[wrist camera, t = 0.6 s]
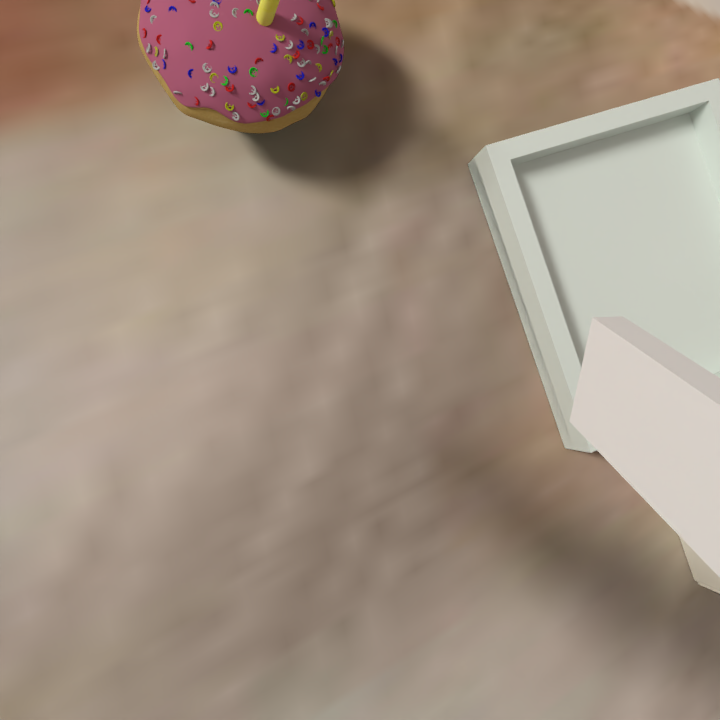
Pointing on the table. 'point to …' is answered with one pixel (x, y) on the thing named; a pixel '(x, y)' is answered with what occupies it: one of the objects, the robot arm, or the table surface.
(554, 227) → the tray
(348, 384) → the table surface
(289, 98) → the cupcake
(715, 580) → the holder
